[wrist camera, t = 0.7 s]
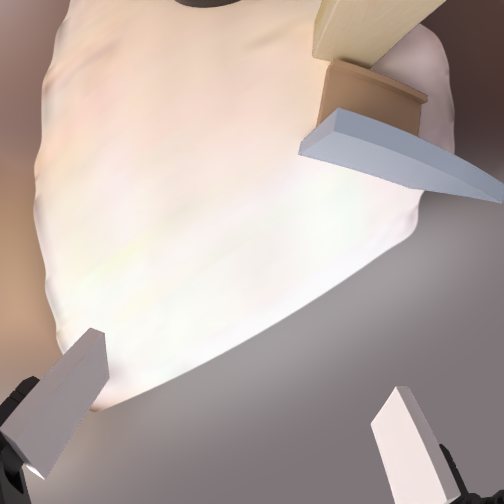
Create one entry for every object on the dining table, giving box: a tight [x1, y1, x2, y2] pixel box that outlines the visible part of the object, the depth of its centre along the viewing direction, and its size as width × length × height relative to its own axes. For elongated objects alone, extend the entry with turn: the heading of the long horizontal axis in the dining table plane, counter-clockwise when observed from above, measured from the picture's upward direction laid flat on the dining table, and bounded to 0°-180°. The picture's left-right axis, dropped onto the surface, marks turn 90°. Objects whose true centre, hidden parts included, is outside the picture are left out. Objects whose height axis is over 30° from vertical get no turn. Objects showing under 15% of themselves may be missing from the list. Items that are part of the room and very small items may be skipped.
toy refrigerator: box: [312, 0, 446, 70], centre depth 18 cm, size 8×7×21 cm
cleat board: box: [298, 58, 504, 203], centre depth 22 cm, size 13×16×18 cm
